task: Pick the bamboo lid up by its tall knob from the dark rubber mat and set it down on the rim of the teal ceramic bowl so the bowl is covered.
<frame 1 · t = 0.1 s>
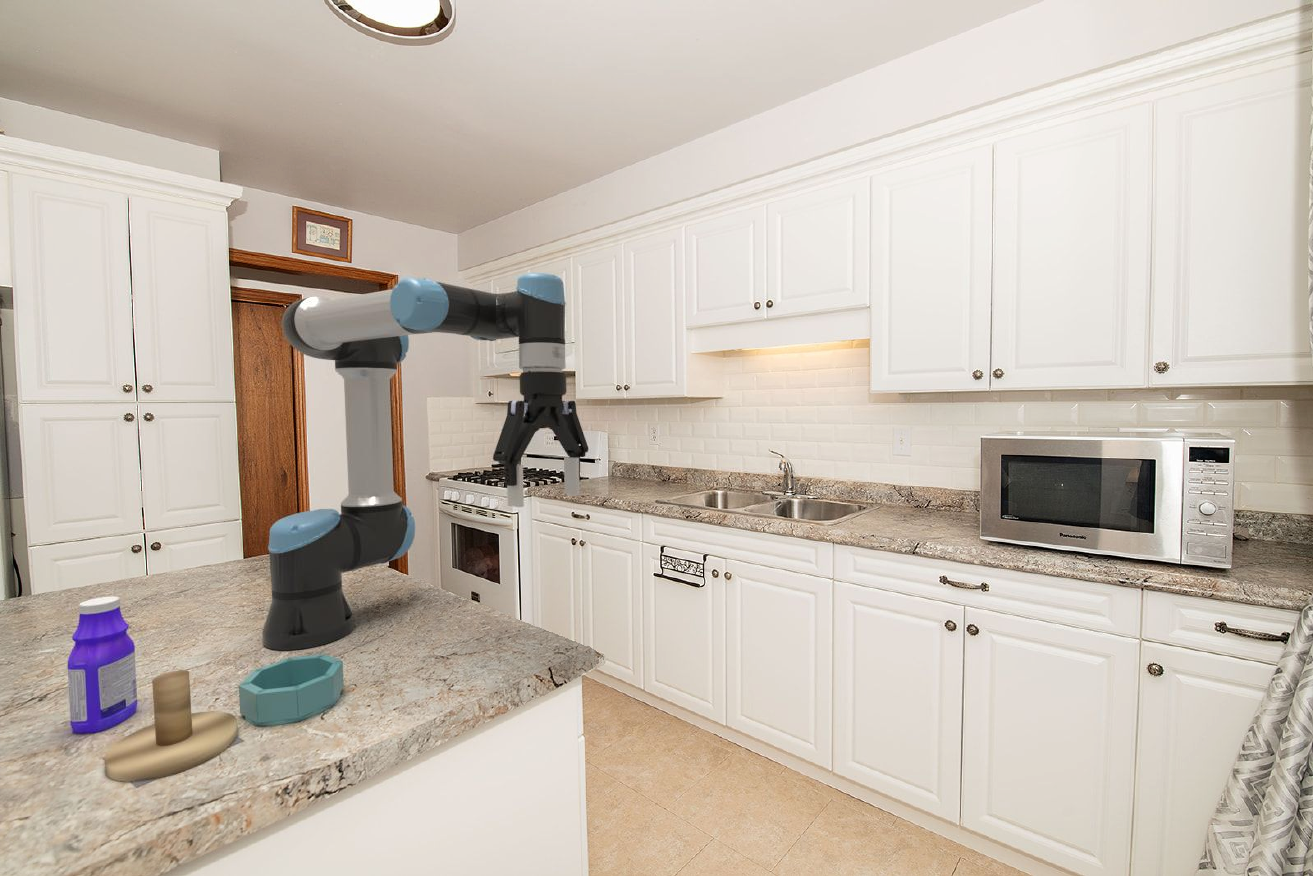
hand: (545, 500, 98), 28 cm above the counter, fingers open, 13 cm apart
lid: (175, 749, 75), resting on mat
mat: (175, 752, 75), on the counter
bottle: (106, 724, 82), on the counter
bowl: (294, 706, 86), on the counter
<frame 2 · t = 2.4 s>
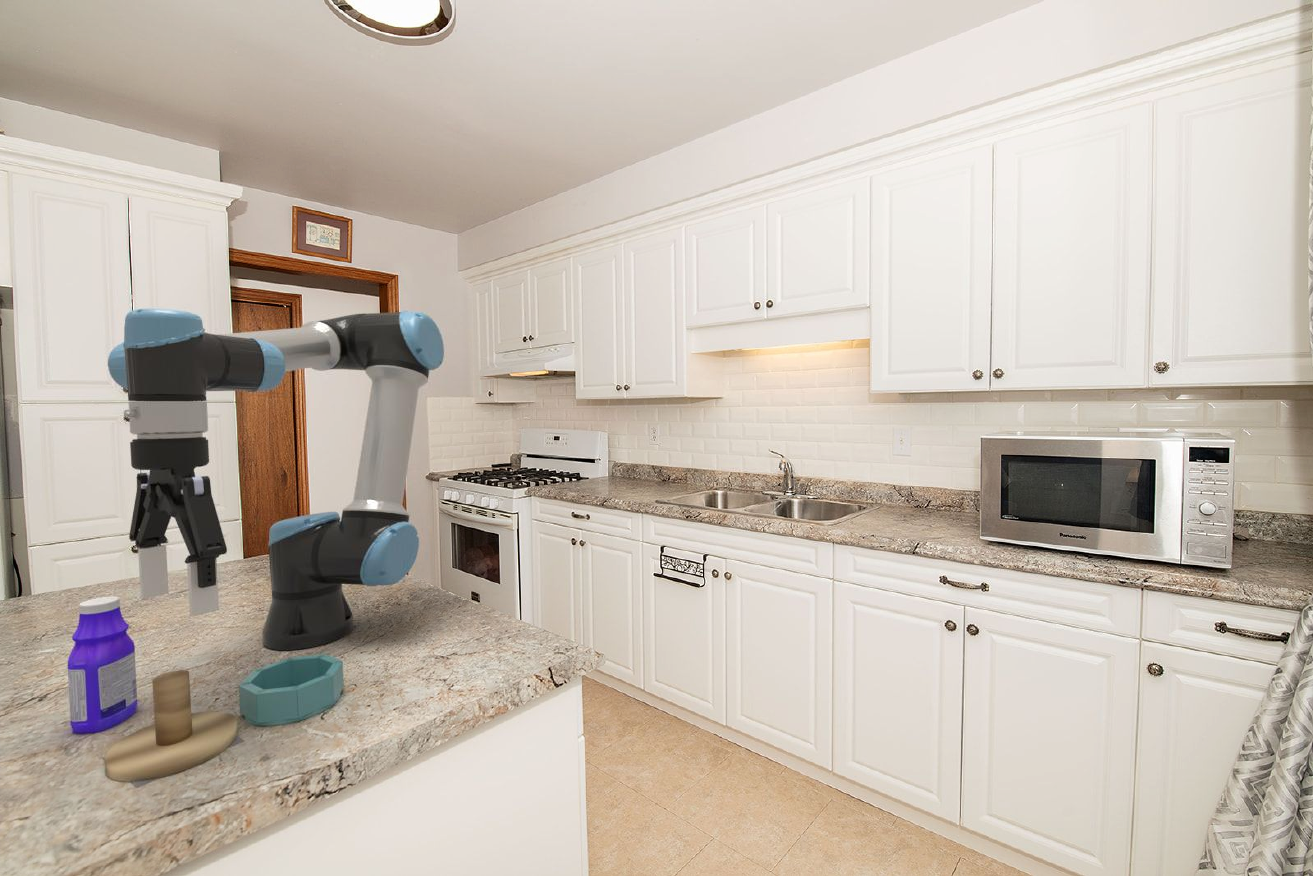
hand: (178, 604, 74), 19 cm above the counter, fingers open, 13 cm apart
nothing on the counter moved.
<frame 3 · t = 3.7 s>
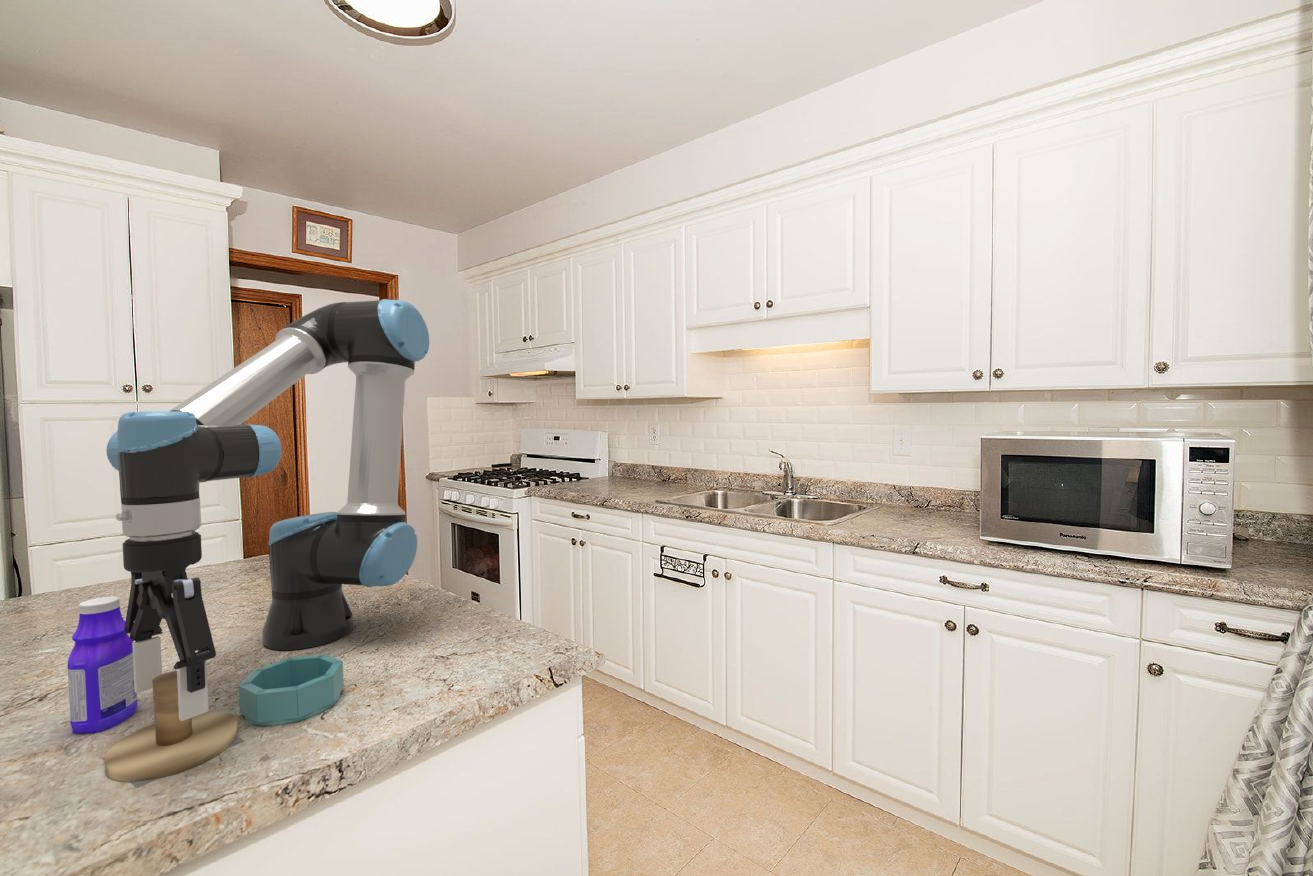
hand: (170, 701, 74), 7 cm above the counter, fingers open, 13 cm apart
nothing on the counter moved.
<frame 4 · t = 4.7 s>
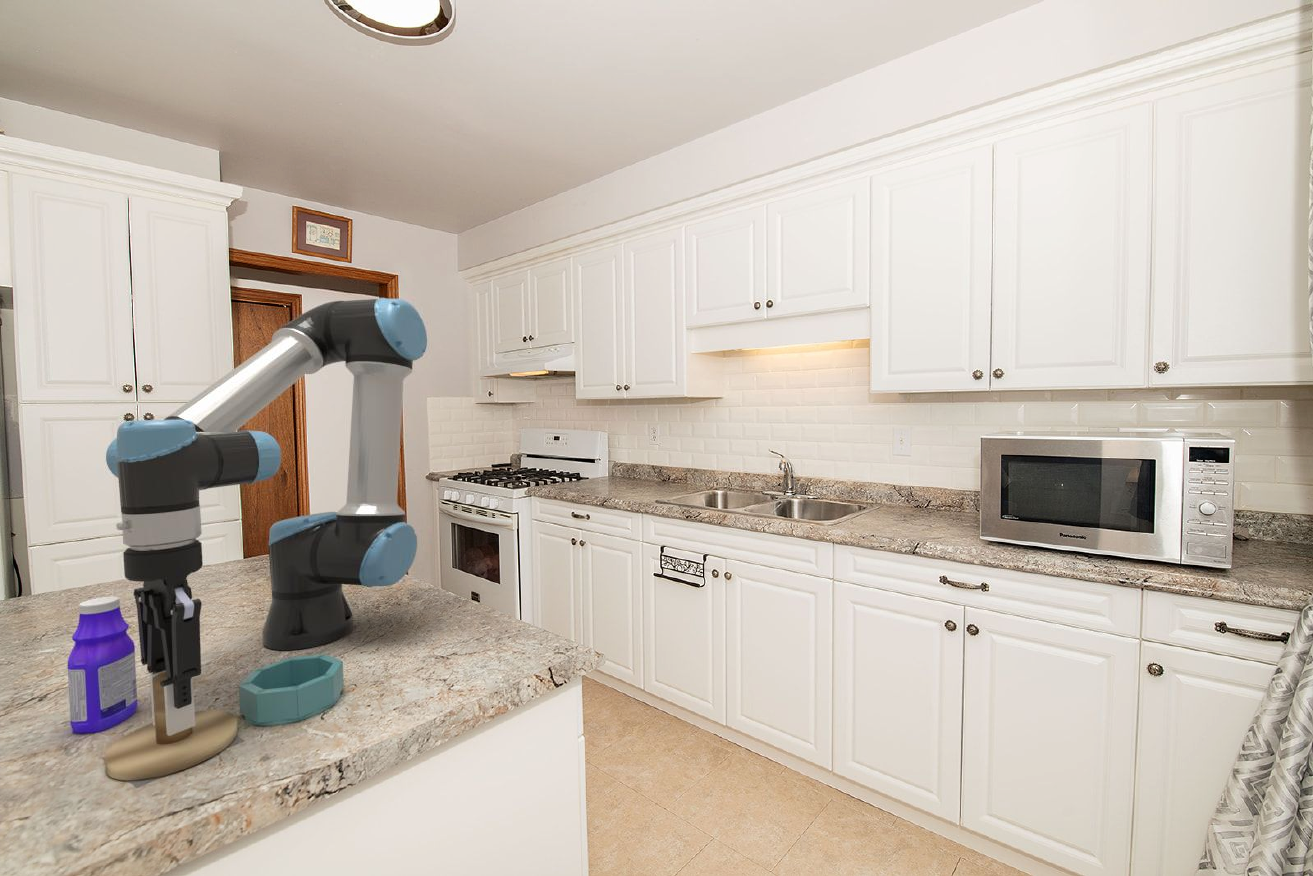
hand: (174, 724, 75), 4 cm above the counter, fingers closed on lid, 3 cm apart
lid: (175, 747, 75), point 1 cm above the counter, touching gripper
everything else where it was.
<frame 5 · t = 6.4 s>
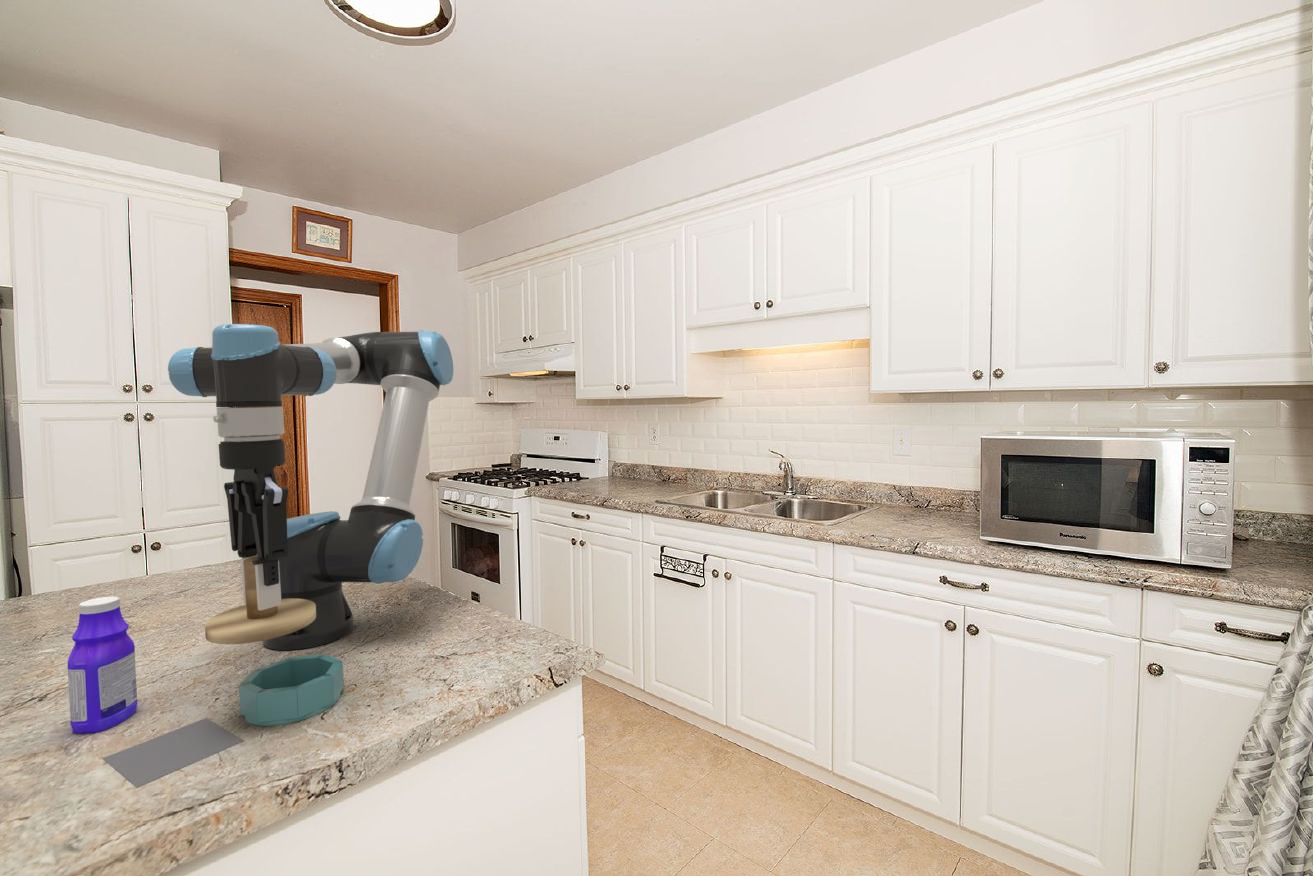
hand: (262, 604, 83), 16 cm above the counter, fingers closed on lid, 3 cm apart
lid: (263, 624, 83), point 13 cm above the counter, touching gripper
everything else where it was.
when the fingers open (10 cm above the counter, at t = 8.2 s): lid drops 2 cm, resting on bowl.
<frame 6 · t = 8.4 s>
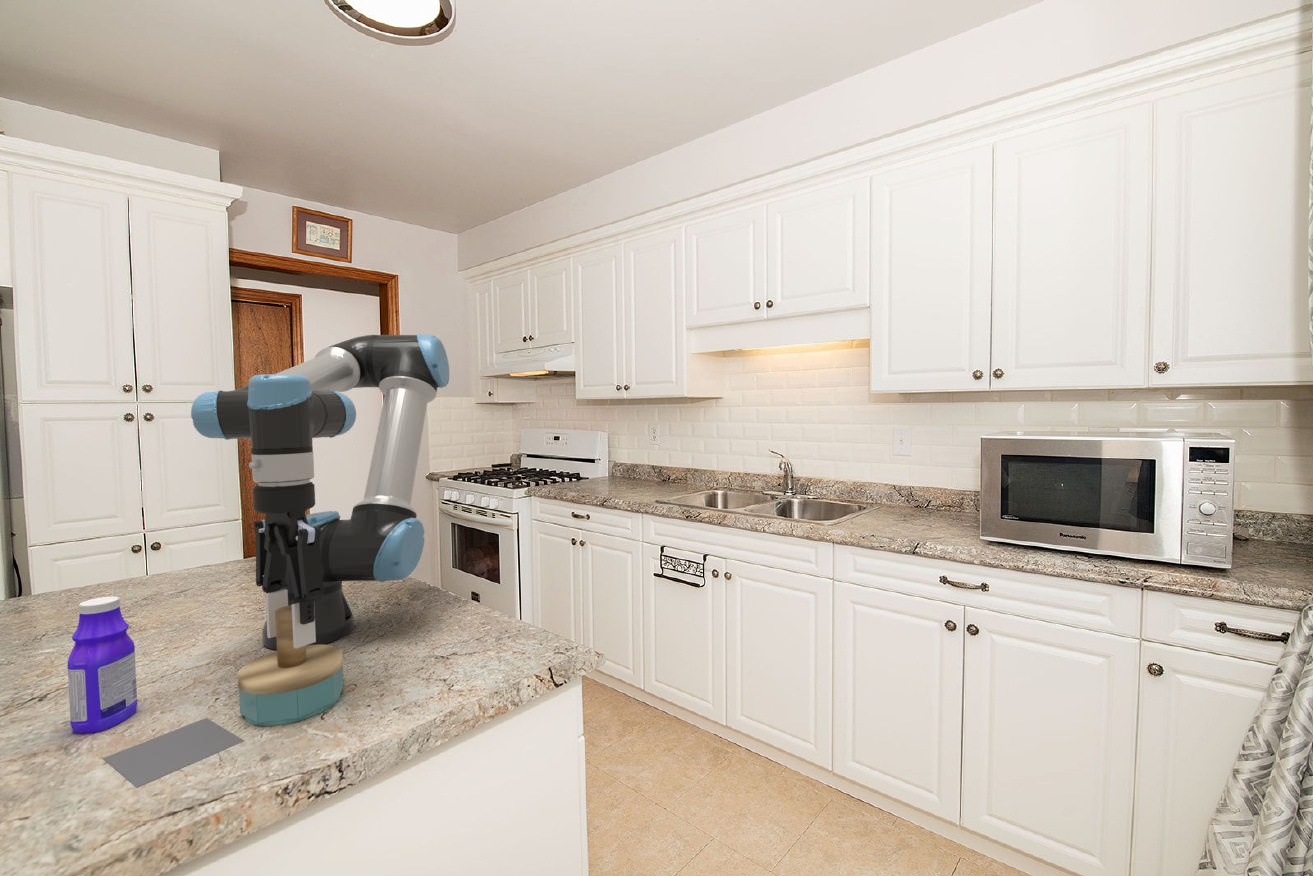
hand: (291, 639, 86), 10 cm above the counter, fingers open, 7 cm apart
lid: (292, 672, 86), point 5 cm above the counter, touching bowl
everything else where it was.
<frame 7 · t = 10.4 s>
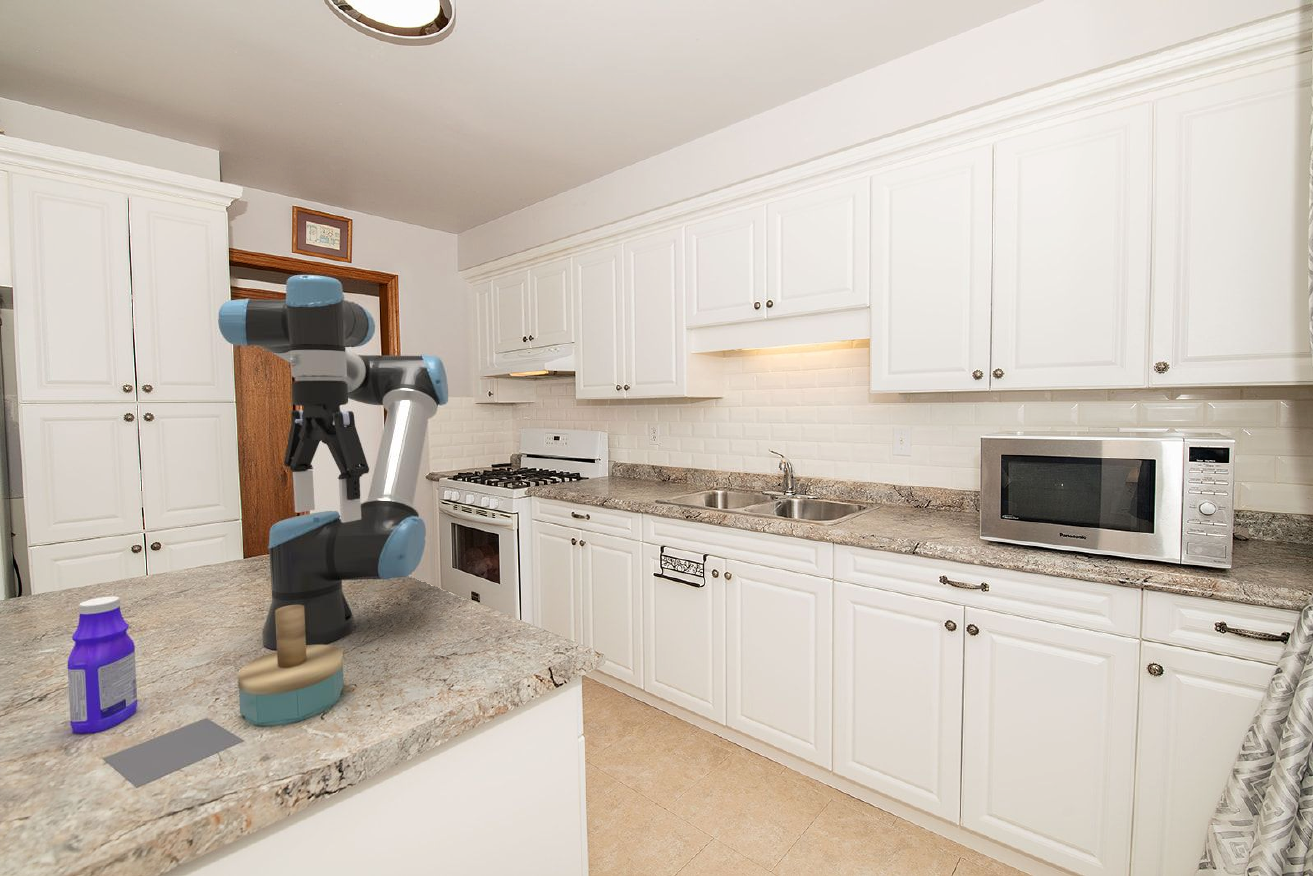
hand: (327, 515, 92), 27 cm above the counter, fingers open, 13 cm apart
nothing on the counter moved.
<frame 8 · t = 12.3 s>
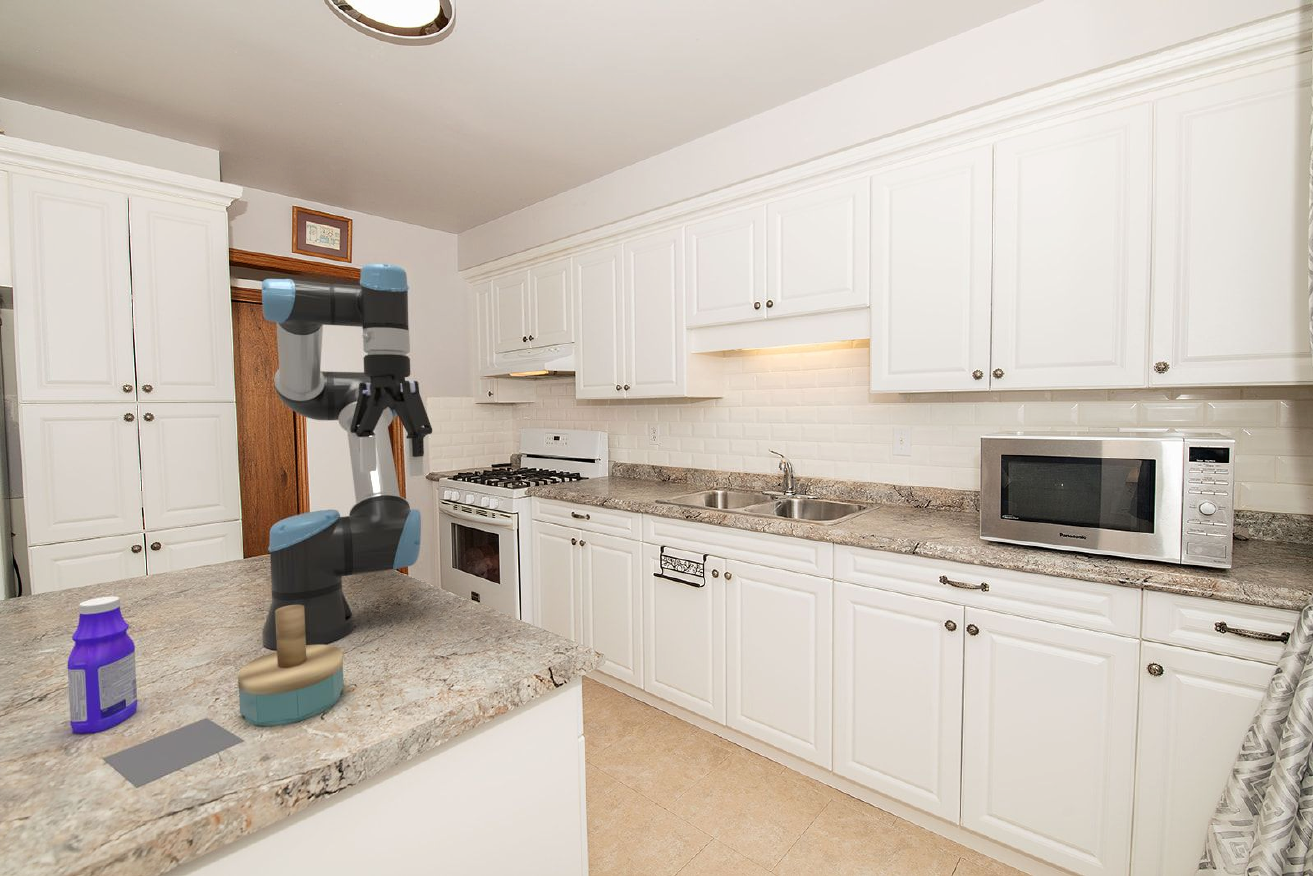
hand: (391, 473, 106), 32 cm above the counter, fingers open, 13 cm apart
nothing on the counter moved.
at the end: lid 0.0 cm off-centre on the bowl, point 5.0 cm above the bowl's base; lid tilted 0°; the gripper is holding nothing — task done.
